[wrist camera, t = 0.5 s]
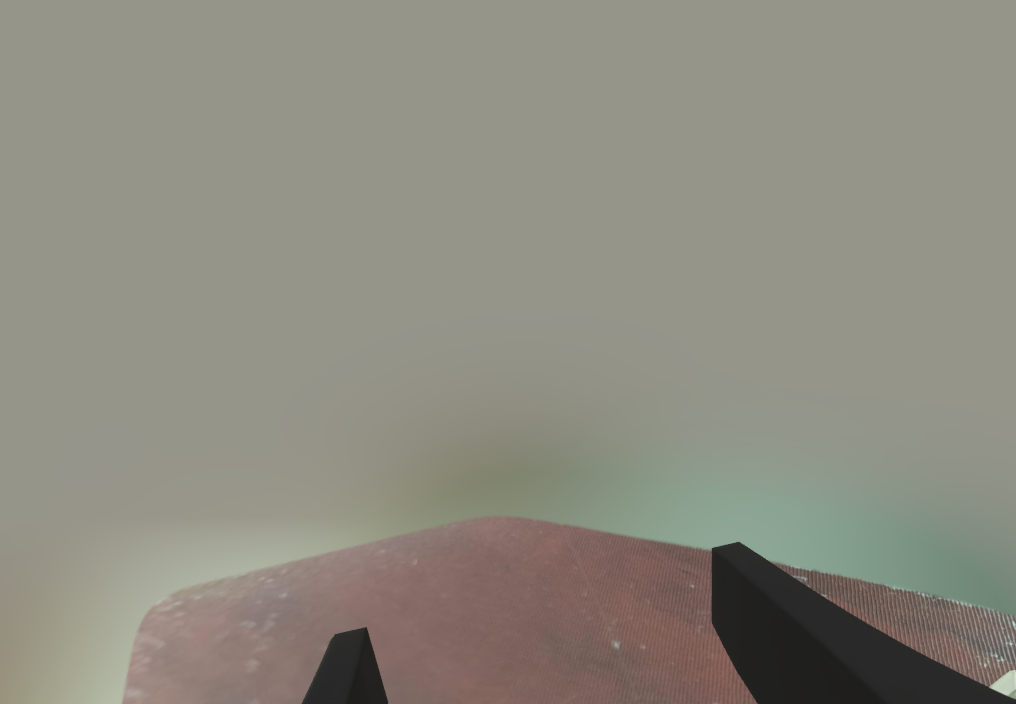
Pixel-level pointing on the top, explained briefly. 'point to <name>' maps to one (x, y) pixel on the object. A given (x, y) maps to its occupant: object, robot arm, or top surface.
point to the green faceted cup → (1006, 684)
